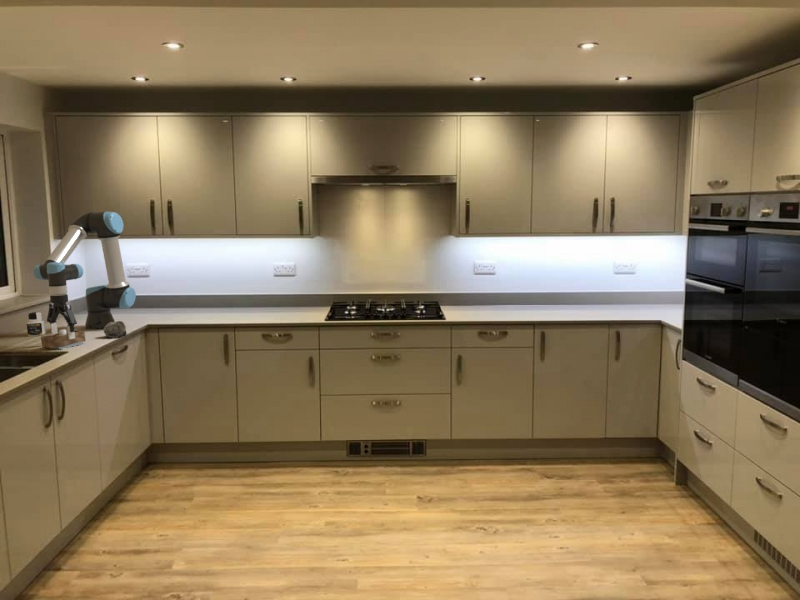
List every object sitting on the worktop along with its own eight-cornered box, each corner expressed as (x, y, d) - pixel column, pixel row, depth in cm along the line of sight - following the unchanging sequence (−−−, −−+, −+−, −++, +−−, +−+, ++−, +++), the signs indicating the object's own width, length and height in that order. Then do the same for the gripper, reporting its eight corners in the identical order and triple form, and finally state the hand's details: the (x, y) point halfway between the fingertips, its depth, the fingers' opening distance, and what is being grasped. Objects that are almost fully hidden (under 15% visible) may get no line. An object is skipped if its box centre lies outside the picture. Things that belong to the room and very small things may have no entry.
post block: (68, 342, 306) (66, 326, 304) (83, 344, 300) (81, 328, 299) (44, 347, 295) (42, 331, 294) (59, 349, 289) (57, 333, 288)
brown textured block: (75, 339, 307) (74, 330, 306) (85, 341, 303) (84, 331, 302) (42, 346, 292) (40, 336, 291) (52, 348, 288) (51, 338, 287)
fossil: (106, 338, 309) (102, 320, 312) (104, 344, 317) (101, 326, 319) (129, 335, 315) (125, 317, 318) (127, 340, 323) (123, 323, 325)
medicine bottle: (27, 336, 322) (25, 314, 320) (31, 333, 329) (29, 311, 327) (42, 335, 324) (40, 313, 322) (46, 332, 331) (44, 311, 329)
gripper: (82, 294, 291) (86, 338, 294) (50, 292, 303) (55, 333, 306) (67, 296, 284) (71, 341, 288) (35, 294, 296) (40, 336, 300)
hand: (63, 337), depth 297 cm, fingers open, 13 cm apart
